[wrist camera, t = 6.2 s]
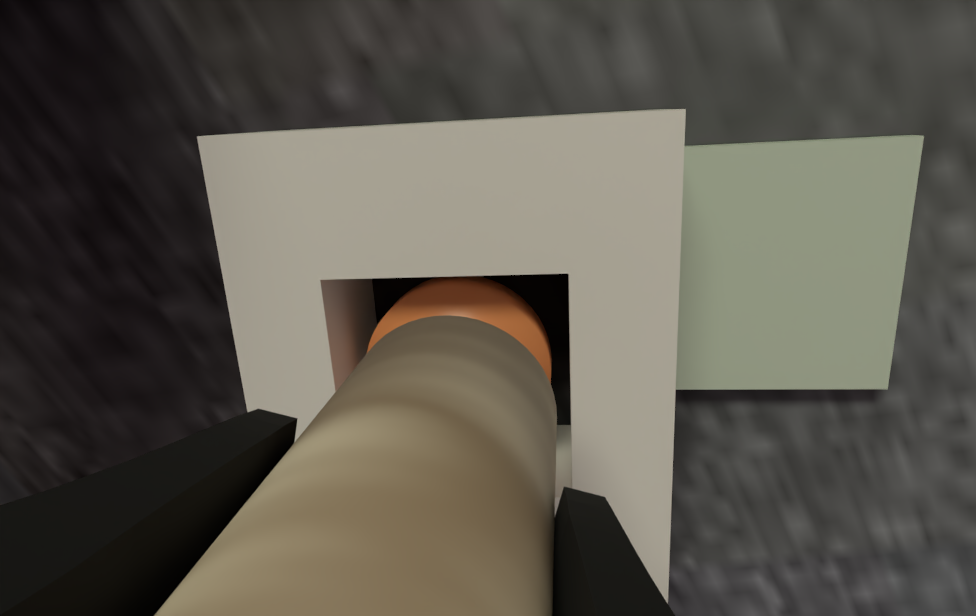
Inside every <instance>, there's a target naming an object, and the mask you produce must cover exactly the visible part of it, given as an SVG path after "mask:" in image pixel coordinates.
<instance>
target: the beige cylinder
mask: <svg viewBox="0 0 976 616" xmlns="http://www.w3.org/2000/svg"><path fill="white" fill-rule="evenodd" d="M556 437H557V410H556V402H555V397H554V393H553V390H552V387H551V384H550V381H549V379H548V377H547V375H546V373H545V371H544V369H543V368H542V366H541V365H540V364H539V362H538V361H537V359H536V358H535V357H534V356H533V355H532V353H531V352H530V351H529V350H528V349H527V348H526V347H525V346H524V345H523V344H521V343H520V342H519V341H518V340H517V339H516V338H514V337H513V336H511V335H510V334H508V333H507V332H505V331H503V330H501V329H499V328H497V327H495V326H493V325H491V324H488V323H486V322H483V321H480V320H477V319H472V318H468V317H462V316H451V315H445V316H431V317H425V318H420V319H417V320H414V321H411V322H408V323H406V324H403V325H401V326H399V327H397V328H395V329H394V330H392V331H391V332H389V333H387V334H386V335H385V336H383V337H382V338H381V339H380V340H379V341H378V342H377V343H376V344H375V345H374V346H373V347H372V348H371V349H370V350H369V352H368V353H367V354H366V355H365V356H364V358H363V359H362V360H361V361H360V363H359V364H358V365H357V366H356V368H355V369H354V370H353V371H352V372H351V374H350V375H349V376H348V377H347V379H346V380H345V381H344V382H343V384H342V385H341V386H340V387H339V388H338V390H337V391H336V392H335V393H334V395H333V396H332V397H331V398H330V400H329V401H328V402H327V403H326V404H325V406H324V407H323V408H322V409H321V411H320V412H319V413H318V414H317V416H316V417H315V418H314V419H313V420H312V422H311V423H310V424H309V425H308V427H307V428H306V429H305V430H304V432H303V433H302V434H301V435H300V436H299V438H298V439H297V440H296V441H295V443H294V444H293V445H292V446H291V448H290V449H289V450H288V451H287V452H286V454H285V455H284V456H283V457H282V459H281V460H280V461H279V462H278V464H277V465H276V466H275V467H274V468H273V470H272V471H271V472H270V473H269V475H268V476H267V477H266V478H265V479H264V481H263V482H262V483H261V484H260V486H259V487H258V488H257V489H256V491H255V492H254V493H253V494H252V495H251V497H250V498H249V499H248V500H247V502H246V503H245V504H244V505H243V507H242V508H241V509H240V510H239V512H238V513H237V514H236V515H235V516H234V518H233V519H232V520H231V521H230V523H229V524H228V525H227V526H226V528H225V529H224V530H223V531H222V532H221V534H220V535H219V536H218V537H217V539H216V540H215V541H214V542H213V543H212V545H211V546H210V547H209V548H208V550H207V551H206V552H205V553H204V555H203V556H202V557H201V558H200V559H199V561H198V562H197V563H196V564H195V566H194V567H193V568H192V569H191V571H190V572H189V573H188V574H187V575H186V577H185V578H184V579H183V580H182V582H181V583H180V584H179V585H178V587H177V588H176V589H175V590H174V591H173V593H172V594H171V595H170V596H169V598H168V599H167V600H166V601H165V603H164V604H163V605H162V606H161V607H160V609H159V610H158V611H157V612H156V614H155V615H154V616H552V614H553V570H554V525H555V481H556Z"/></svg>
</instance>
